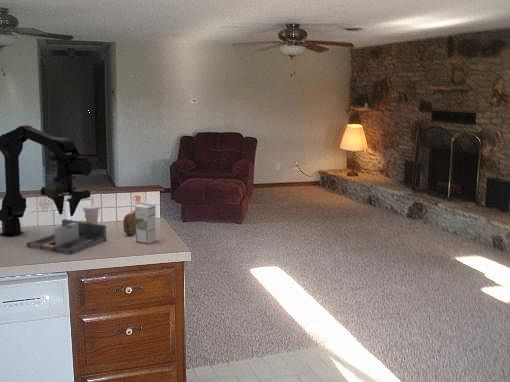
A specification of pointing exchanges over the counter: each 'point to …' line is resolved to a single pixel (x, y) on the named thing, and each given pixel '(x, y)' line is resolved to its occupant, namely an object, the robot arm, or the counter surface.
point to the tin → (130, 223)
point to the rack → (85, 234)
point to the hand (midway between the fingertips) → (66, 215)
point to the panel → (66, 233)
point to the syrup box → (145, 223)
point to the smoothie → (91, 213)
